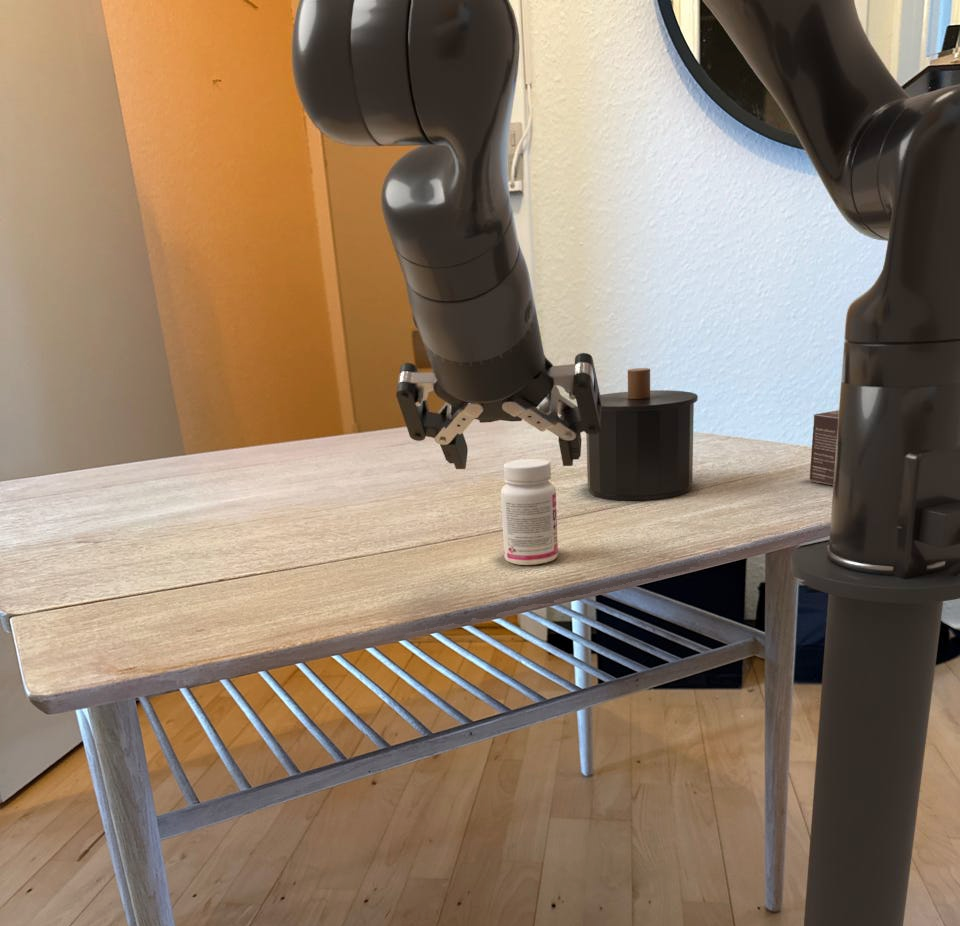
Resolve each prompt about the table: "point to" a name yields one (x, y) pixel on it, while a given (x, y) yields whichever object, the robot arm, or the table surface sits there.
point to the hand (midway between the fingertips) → (514, 458)
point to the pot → (641, 454)
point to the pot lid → (644, 395)
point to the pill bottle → (529, 512)
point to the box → (824, 447)
